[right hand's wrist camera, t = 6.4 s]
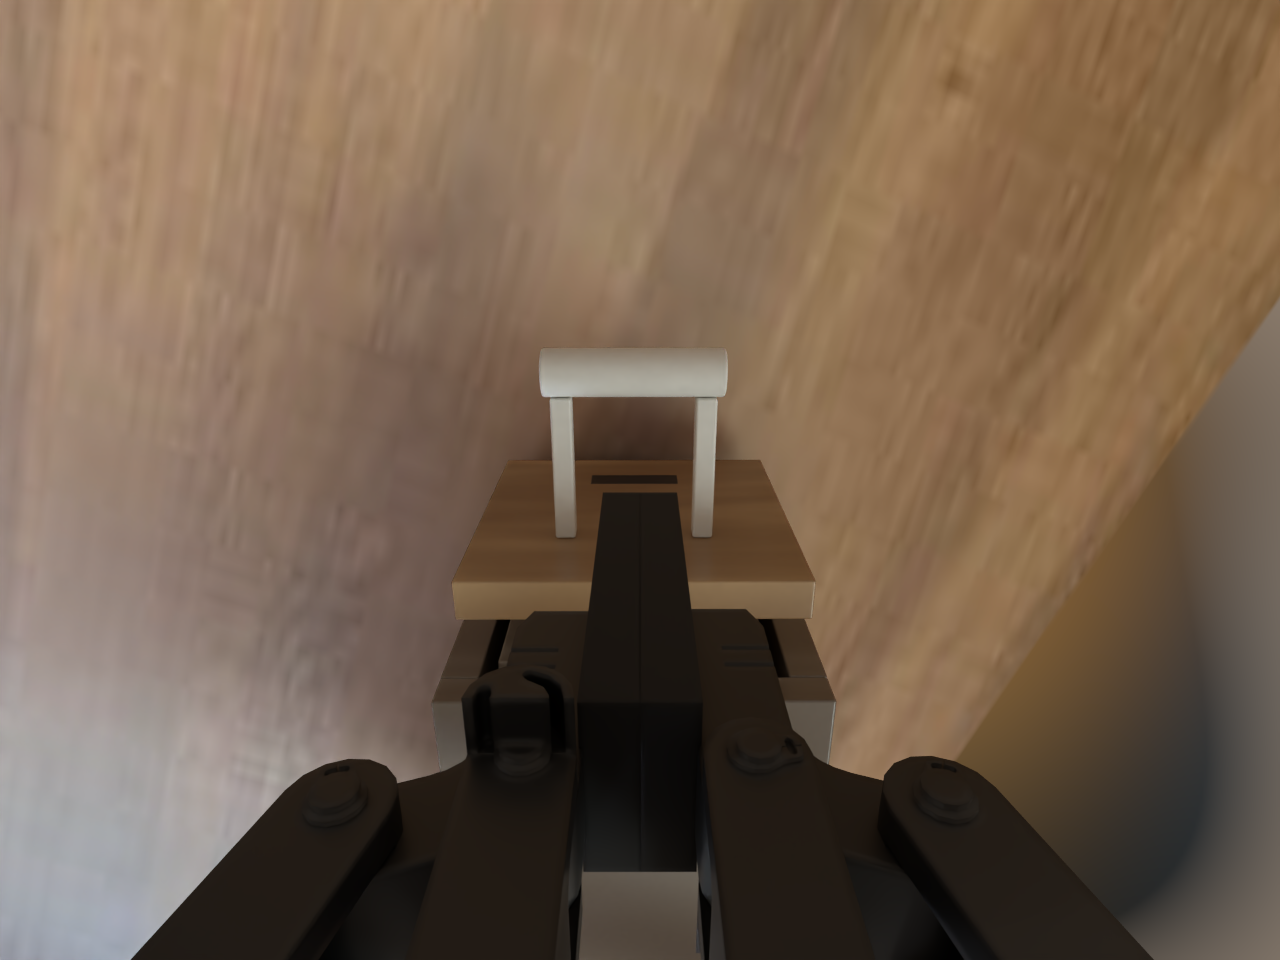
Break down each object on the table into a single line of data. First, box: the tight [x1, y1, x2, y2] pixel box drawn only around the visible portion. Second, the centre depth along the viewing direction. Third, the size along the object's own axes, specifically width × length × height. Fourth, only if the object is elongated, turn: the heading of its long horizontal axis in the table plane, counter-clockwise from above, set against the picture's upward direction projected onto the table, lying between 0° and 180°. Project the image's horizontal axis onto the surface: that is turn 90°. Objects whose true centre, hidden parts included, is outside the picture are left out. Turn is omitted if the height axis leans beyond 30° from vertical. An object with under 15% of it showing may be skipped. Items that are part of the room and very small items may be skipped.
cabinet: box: [431, 619, 836, 960], centre depth 28 cm, size 17×11×12 cm, turn 0°
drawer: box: [452, 348, 816, 668], centre depth 26 cm, size 21×10×10 cm, turn 0°
